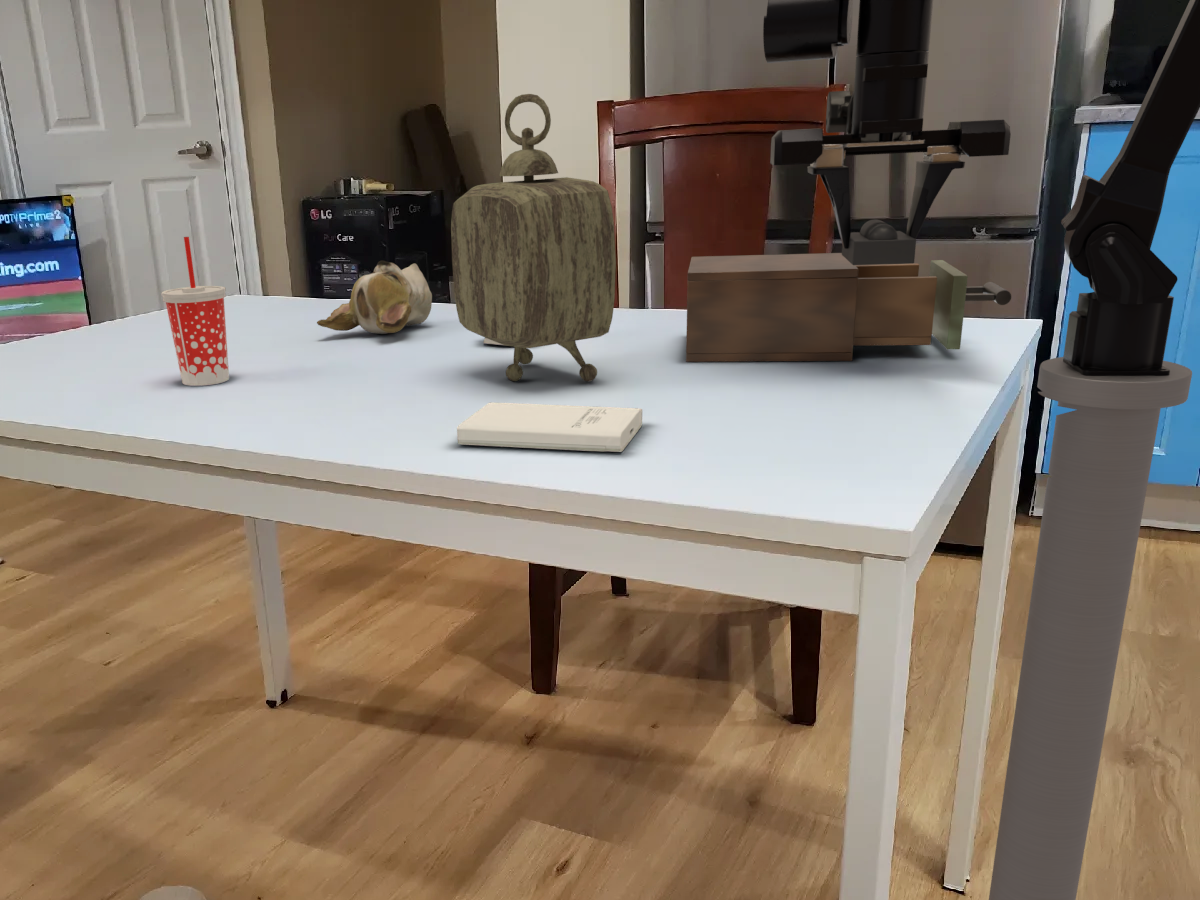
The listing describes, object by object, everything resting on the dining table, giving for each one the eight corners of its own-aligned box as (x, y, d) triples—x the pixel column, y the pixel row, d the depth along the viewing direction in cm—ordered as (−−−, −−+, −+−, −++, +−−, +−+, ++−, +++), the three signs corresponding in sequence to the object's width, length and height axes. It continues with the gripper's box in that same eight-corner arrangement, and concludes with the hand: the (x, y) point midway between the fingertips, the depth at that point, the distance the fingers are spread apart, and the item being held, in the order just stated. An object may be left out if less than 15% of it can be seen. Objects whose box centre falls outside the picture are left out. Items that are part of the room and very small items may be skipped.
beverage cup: (249, 376, 111) (232, 233, 106) (208, 389, 106) (188, 240, 101) (203, 372, 114) (184, 233, 109) (161, 385, 109) (139, 240, 104)
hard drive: (491, 420, 89) (642, 425, 85) (457, 447, 82) (620, 454, 78) (490, 400, 89) (642, 405, 85) (456, 426, 82) (620, 432, 78)
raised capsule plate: (841, 255, 101) (843, 219, 100) (898, 253, 100) (901, 217, 99) (852, 265, 94) (855, 226, 92) (914, 263, 93) (917, 224, 92)
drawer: (985, 326, 113) (992, 258, 111) (1014, 349, 102) (1023, 274, 99) (792, 328, 117) (795, 263, 115) (799, 350, 106) (803, 278, 103)
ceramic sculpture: (450, 250, 132) (381, 273, 121) (457, 321, 136) (390, 350, 124) (378, 250, 138) (305, 272, 126) (386, 319, 141) (316, 347, 129)
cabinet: (838, 335, 117) (844, 252, 114) (852, 360, 104) (858, 268, 101) (690, 337, 120) (691, 256, 117) (685, 361, 108) (687, 272, 105)
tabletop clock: (616, 382, 100) (615, 88, 91) (533, 398, 96) (524, 90, 87) (529, 360, 112) (521, 97, 103) (452, 373, 108) (437, 100, 99)
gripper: (988, 52, 97) (969, 235, 102) (770, 66, 100) (763, 241, 106) (1022, 44, 86) (999, 247, 92) (778, 59, 90) (770, 254, 95)
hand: (877, 247), depth 96 cm, fingers closed on raised capsule plate, 5 cm apart
